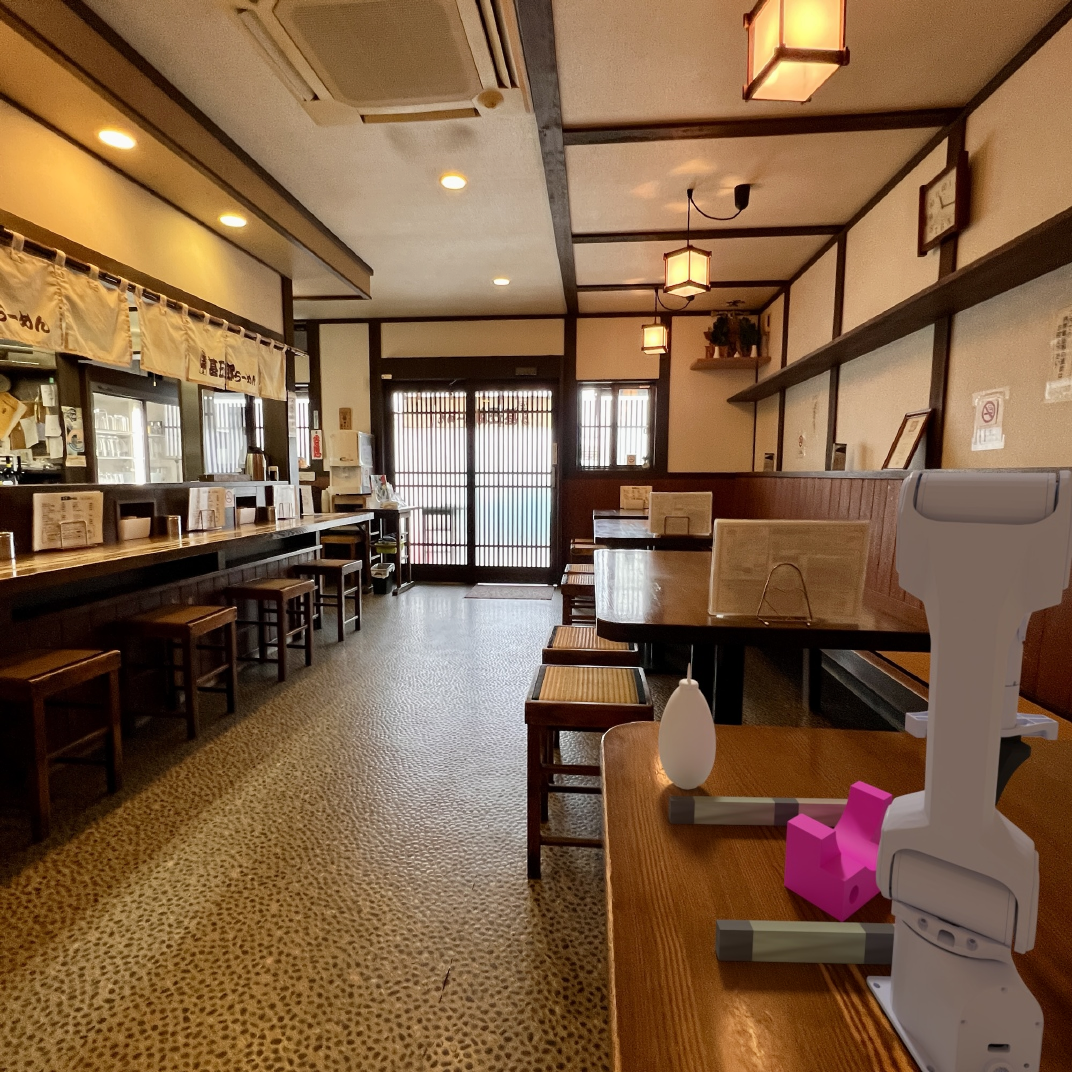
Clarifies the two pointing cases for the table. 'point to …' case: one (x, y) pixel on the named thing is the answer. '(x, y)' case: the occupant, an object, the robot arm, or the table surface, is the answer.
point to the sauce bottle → (687, 736)
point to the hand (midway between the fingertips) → (973, 800)
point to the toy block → (838, 854)
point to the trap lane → (784, 936)
